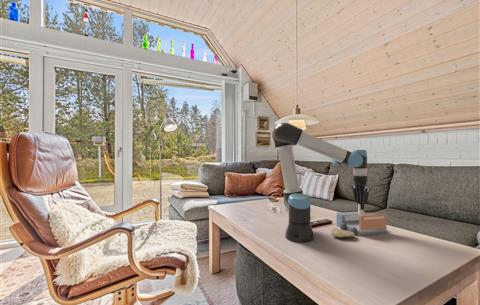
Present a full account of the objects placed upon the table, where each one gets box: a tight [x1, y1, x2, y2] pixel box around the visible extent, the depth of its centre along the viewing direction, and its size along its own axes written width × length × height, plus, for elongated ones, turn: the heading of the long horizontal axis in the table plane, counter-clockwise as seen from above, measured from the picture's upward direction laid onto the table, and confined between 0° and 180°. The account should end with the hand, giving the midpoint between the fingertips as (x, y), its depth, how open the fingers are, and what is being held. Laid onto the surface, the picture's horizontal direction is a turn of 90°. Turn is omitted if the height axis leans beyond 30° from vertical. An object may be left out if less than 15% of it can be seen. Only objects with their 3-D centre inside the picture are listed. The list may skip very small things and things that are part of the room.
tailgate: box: [359, 212, 387, 230], centre depth 129 cm, size 17×1×8 cm, turn 103°
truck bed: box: [336, 211, 387, 236], centre depth 138 cm, size 22×20×8 cm
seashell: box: [331, 228, 355, 239], centre depth 127 cm, size 12×12×3 cm
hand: (360, 214), depth 138 cm, fingers closed
